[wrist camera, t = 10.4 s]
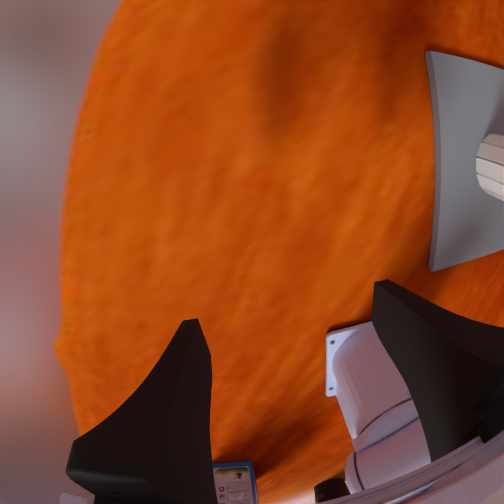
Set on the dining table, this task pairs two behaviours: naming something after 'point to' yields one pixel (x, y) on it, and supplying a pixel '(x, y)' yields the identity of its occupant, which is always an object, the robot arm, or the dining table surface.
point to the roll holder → (463, 158)
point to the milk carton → (235, 483)
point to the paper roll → (491, 165)
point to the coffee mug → (330, 490)
